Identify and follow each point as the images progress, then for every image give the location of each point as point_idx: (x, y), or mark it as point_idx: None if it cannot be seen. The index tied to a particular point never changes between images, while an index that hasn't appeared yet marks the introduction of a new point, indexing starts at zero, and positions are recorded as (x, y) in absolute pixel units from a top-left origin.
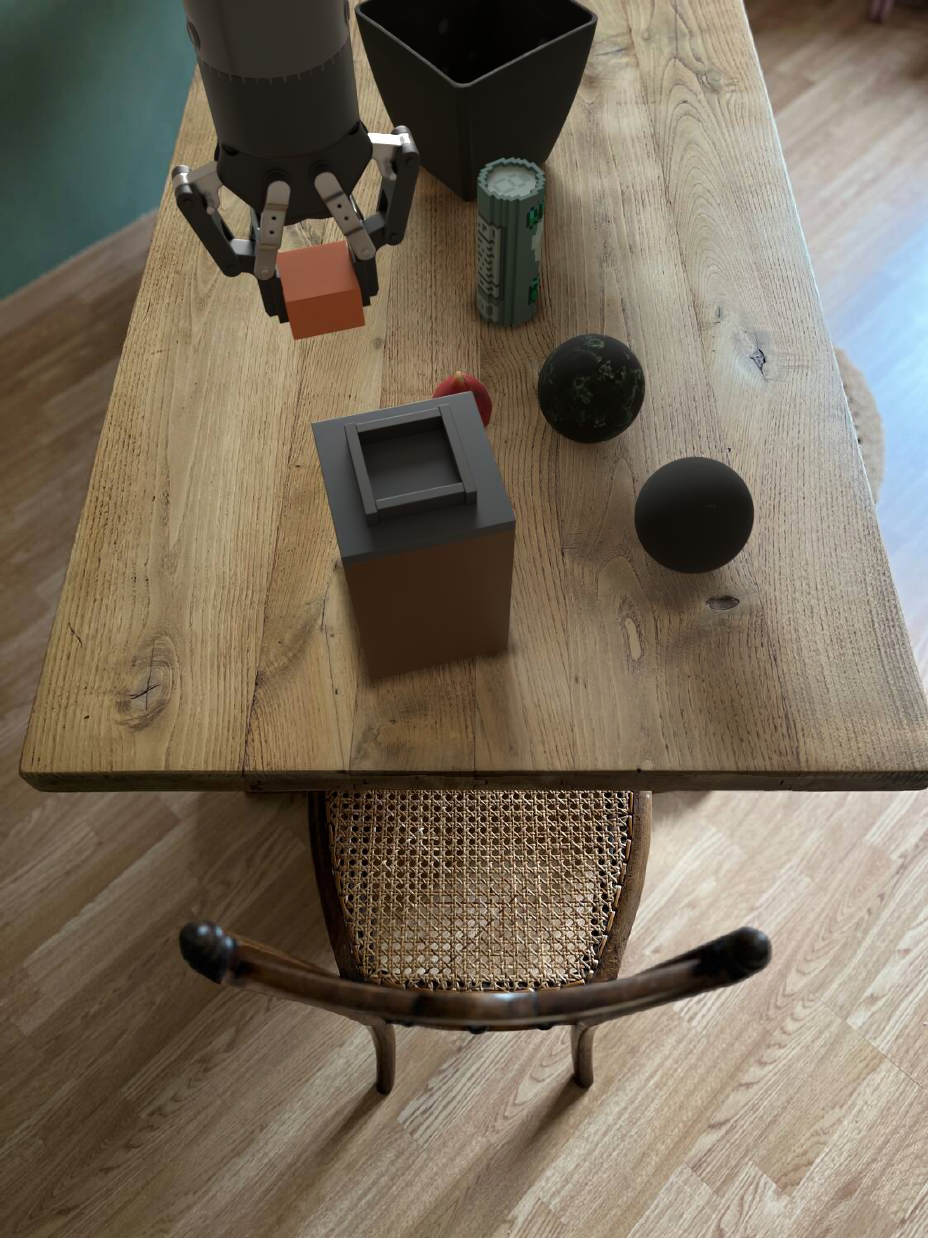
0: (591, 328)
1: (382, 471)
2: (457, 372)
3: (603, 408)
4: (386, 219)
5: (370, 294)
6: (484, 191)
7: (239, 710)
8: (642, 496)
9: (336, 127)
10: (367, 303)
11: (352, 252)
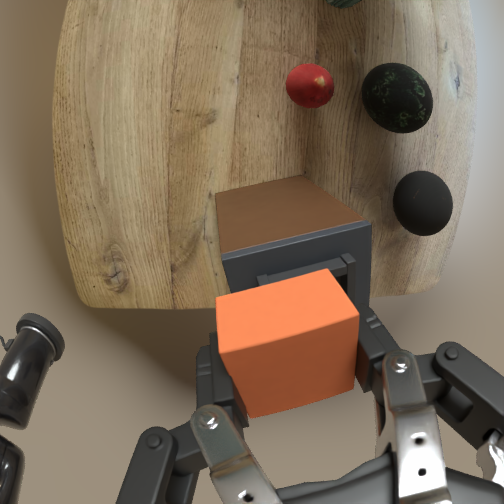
0: (387, 26)
1: None
2: (321, 79)
3: (408, 130)
4: (441, 414)
5: None
6: None
7: (165, 284)
8: (410, 200)
9: None
10: None
11: (368, 378)
